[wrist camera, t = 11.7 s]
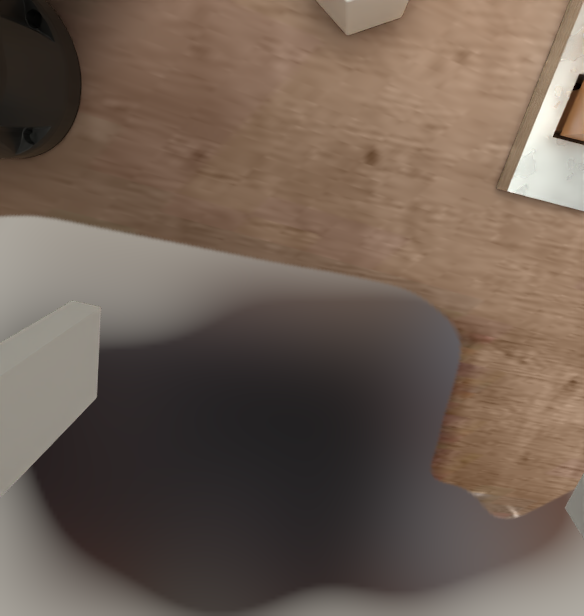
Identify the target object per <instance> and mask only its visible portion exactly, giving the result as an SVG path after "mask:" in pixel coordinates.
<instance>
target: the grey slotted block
mask: <svg viewBox="0 0 584 616" xmlns="http://www.w3.org/2000/svg"><path fill="white" fill-rule="evenodd" d="M583 81H584V0H570V2H569V5H568V7H567V10H566V12H565V15H564V17H563V20H562V22H561V25H560V27H559V30H558V32H557V35H556V38H555V40H554V43H553V45H552V48H551V50H550V53H549V55H548V58H547V60H546V63H545V65H544V68H543V70H542V73H541V75H540V78H539V81H538V83H537V86H536V88H535V91H534V93H533V96H532V98H531V101H530V103H529V106H528V108H527V111H526V113H525V116H524V118H523V121H522V124H521V126H520V129H519V131H518V134H517V136H516V139H515V141H514V144H513V146H512V149H511V151H510V154H509V156H508V159H507V162H506V164H505V167H504V169H503V172H502V174H501V177H500V179H499V182H498V184H497V187H496V188H497V189H501V190H505V191H508V192H512V193H516V194H520V195H524V196H527V197H531V198H535V199H539V200H543V201H547V202H550V203H554V204H558V205H562V206H566V207H570V208H573V209H577V210H581V211H584V145H581V144H578V143H574V142H570V141H566V140H562V139H558V138H554V137H553V135H554V132H555V130H556V127H557V125H558V123H559V120H560V118H561V116H562V113H563V111H564V109H565V106H566V104H567V101H568V99H569V97H570V94H571V92H572V90H573V87H574V85H575V82H576V83H580V84H582V83H583Z"/></svg>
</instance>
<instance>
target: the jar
mask: <svg viewBox="0 0 584 616" xmlns="http://www.w3.org/2000/svg"><path fill="white" fill-rule="evenodd" d="M316 1H317V2H318V3H319V5H320V6H321V7H322V8H323V9H324V10H325V11H326V12H327V14H328V15H329V16H330V17H331V18H332V19H333V20H334V22H335V23H336V24H337V25H338V26H339V27H340V28H341V30H342V31H343V32H344V33H345V34H346V35H351V34H354V33H357V32H360V31H363V30H366V29H369V28H372V27H375V26H378V25H380V24H383V23H386V22H389V21H392V20H395V19H398V18H401V17H402V16H403V14H404V11H405V9H406V6H407V4H408V1H409V0H316Z"/></svg>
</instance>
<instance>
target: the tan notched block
mask: <svg viewBox="0 0 584 616" xmlns="http://www.w3.org/2000/svg"><path fill="white" fill-rule="evenodd" d="M555 132H557V133H560V135H561V136H565V137H569V138H572V139H576V140H580V141H584V81H583V83H582V85H581V88H580V89H578V90H574V91H572V92H571V94H570V97H569V99H568V101H567V104H566V106H565V109H564V111H563V113H562V116H561V118H560V120H559V123H558V125H557V127H556V130H555Z"/></svg>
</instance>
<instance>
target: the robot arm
mask: <svg viewBox="0 0 584 616" xmlns="http://www.w3.org/2000/svg"><path fill="white" fill-rule="evenodd" d="M80 90H81V80H80V69H79V63H78V59H77V55H76V52H75V48H74V46H73V43H72V40H71V38H70V36H69V34H68V32H67V30H66V28H65V26H64V24H63V23H62V21H61V20H60V18H59V16H58V15H57V14H56V12H55V11H54V10H53V9H52V7H51V6H50V5H49V4H48V3H47V2H46V1H45V0H0V158H27V157H32V156H36V155H39V154H42V153H44V152H46V151H48V150H49V149H51V148H52V147H54V146H55V145H56V144H57V143H58V142H60V141H61V139H62V138H63V137H64V136H65V135H66V133H67V132H68V130H69V129H70V127H71V125H72V123H73V121H74V118H75V116H76V113H77V110H78V105H79V100H80ZM100 320H101V307H99V306H95V305H90V304H86V303H81V302H77V301H73V300H72V301H70V302H69V303H67V304H65V305H64V306H62V307H60V308H59V309H57V310H55V311H54V312H52V313H50V314H49V315H47V316H45V317H43V318H42V319H40V320H38V321H36V322H35V323H33V324H31V325H30V326H28V327H26V328H25V329H23V330H21V331H19V332H18V333H16V334H14V335H13V336H11V337H9V338H8V339H6V340H4V341H2V342H1V343H0V498H1V497H2V496H3V494H4V493H5V492H6V491H7V490H8V489H9V488H10V487H11V486H12V485H13V484H14V483H15V482H16V481H17V480H18V479H19V478H20V477H21V476H22V475H23V473H25V471H27V469H29V467H30V466H31V465H32V464H33V463H34V462H35V461H36V460H37V459H38V458H39V457H40V456H41V455H42V454H43V453H44V452H45V451H46V450H47V449H48V448H49V447H50V446H51V445H52V443H53V442H54V441H55V440H56V439H57V438H58V437H59V436H60V435H61V434H62V433H63V432H64V431H65V430H66V429H67V428H68V427H69V426H70V425H71V424H72V423H73V422H74V421H75V420H76V419H77V417H78V416H79V415H80V414H81V413H82V412H83V411H84V410H85V409H86V408H87V407H88V406H89V405H90V404H91V403H92V402H93V401H94V400H95V399H96V398H97V381H98V361H99V340H100ZM565 509H566V510H567V512H568V514H569V515H570V517H571V519H572V520H573V522H574V524H575V525H576V527H577V529H578V530H579V532H580V534H581V535H582V537H583V538H584V474H583V475H582V477H581V479H580V481H579V483H578V485H577V486H576V488H575V490H574V492H573V494H572V496H571V497H570V499H569V501H568V503H567V505H566V507H565Z"/></svg>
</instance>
